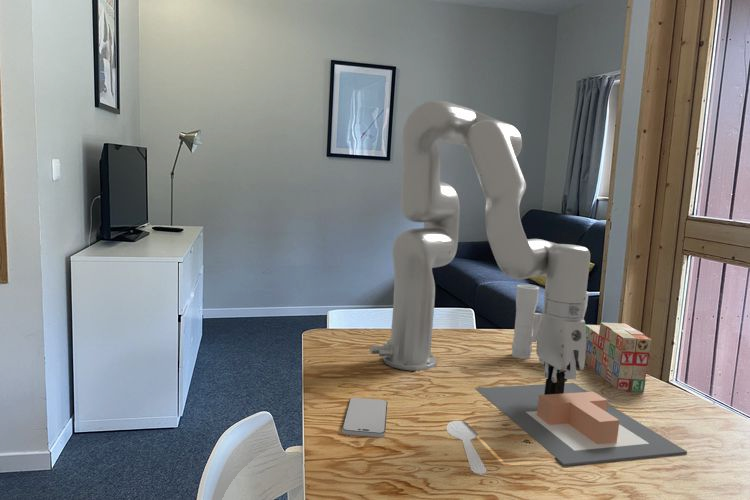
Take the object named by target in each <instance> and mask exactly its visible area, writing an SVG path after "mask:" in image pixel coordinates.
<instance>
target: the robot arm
mask: <svg viewBox="0 0 750 500" xmlns="http://www.w3.org/2000/svg"><path fill="white" fill-rule="evenodd" d="M521 135H522V134H521V133H520V132H519V130H518V129H517V128H516V127H515V126H514V125H512V124H510V123H509V122H508V123H507V122H504V121H501V120H499V119H497V118H494V117H492V116H489V115H487V114H485V113H482V112H480V111H477V110H475V109H472V108H469V107H466V106H463V105H459V104H456V103H454V102H449V101H446V100H440V99H439V100H438V99H437V100H436V99H434V100H428V101H424V102H422V103H420V104H418V105H417V106H416V107H415V108H414V109H413V110H412V111H411V112H410V114H409V115H408V116H407V118H406V120H405V122H404V126H403V131H402V169H401V171H402V173H401V174H402V175H401V192H400V194H401V195H400V208H401V213H402V215H403V217H404V218H405V219H406V220H408V221H410V222H413V223H423V227H420V228H410V229H407V230H405V231H403V232H401V233H400V234H399V235H397V237H396V238H395V240H394V241H393V242H394V243H393V246H392V262H393V272H394V278H393V279H394V281H393V282H394V286H393V305H392V319H391V334H390V339H388V340H386V343H383V344H382V345H377V344H376V345H370V347H369V351H370V354H371V355H375V354H376V355H378V357H382V361H383V363H384V364H385V365H387V366H389V367H391V368H393V369H399V370H405V371H410V372H411V371H424V370H425V371H426V370H430V369H432V368H435V367H436V365H437V358H436V356H434V355H433V354H431V352H432V340H433V339H432V337H433V326H434V313H435V300H436V283H435V279H434V274H433V269H434V268H440V267H444V266H446V265H448V264H450V263H451V262H453V260H454V258H455V256H456V254H457V252H458V251H457V250H458V245H459V244H458V243H459V229H460V209H461V206H460V199H459V196H458V193H457V191H456V190H455V188H454V187H453V186H452V185H451V184H448V183H446V182H443V181H441V157H440V153H439V150H438V146H437V144H438V143H439V142H443V143H449V144H452V145H453V144H454V145H459V146H460V147H463V148H465V149H467V151H468V153H469V157H470V159H471V163H472V165H473V167H474V170H475V172H476V176H477V178H478V179H477V180H478V181H479V185H480V187H481V190H482V192H483V195H484V198H485V210H484V214H485V215H484V216H485V217H484V218H485V219H484V220H485V221H484V222H485V225H484V226H485V232H486V237H487V241H488V243H489V246H490V249H491V252H492V254H493V256H494V259H495V261H496V264H497V266H498V267H499V269H500V271H501V272H502V273H503V274H504V275H505V276H507V277H508V278H509V279H512V280H517V281H519V280H526V279H530V278H535V277H541V276H545V277H546V278H545V285H544V286H545V287H544V294H543V295H544V297H543V305H542V313H541V314H542V317H541V321H539V322H540V325H539V331H538V337H537V341H536V356H537V357H538V358H539V359H538V360H539V362H540V363H541V365H542V366H543V367H544V377H545V393H544V395H548V394H564V385H565V383H568V380H569V381H570V380H577V371H578V372H580V371H584V370H585V369H584V368H585V364H586V362H585V354H586V326H585V325H586V321H585V319H584V320H583V317H584V318H585V316H584V308H585V299H586V291H587V289H588V280H589V272H590V263H591V252H590V250H589V249H588V248H587V247H586V246H581V245H577V244H568V243H567V244H566V243H556V242H552V241H548V240H546V239H545V240H544V239H540V238H529V239H528V238H527V234H526V233H525V231H524V227H523V225H522V219H521V216H520V206H521V205H520V204H521V201H522V198H523V196H524V194H525V193H526V189H527V182H526V179H525V178H524V175H523V173H522V169H521V167H520V165H519V162H518V160H517V157H518V156H519V155H520V153H521V151H522V148H523V139H522V136H521Z"/></svg>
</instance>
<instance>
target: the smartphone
mask: <svg viewBox="0 0 750 500" xmlns="http://www.w3.org/2000/svg"><path fill="white" fill-rule="evenodd" d="M387 412H388V401H387V400H383V399H377V398H376V399H374V398H365V397H364V398H363V397H362V398H361V397H351V398H350V399H349V401H348V404H347V409H346V412H345V416H344V419H343V423H342V430H341V432H342V434H345V435H346V436H347V435H348V436H357V437H358V436H361V437H369V438H370V437H371V438H372V437H374V438H384V437H385V436H386V428H387Z"/></svg>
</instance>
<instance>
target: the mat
mask: <svg viewBox="0 0 750 500" xmlns="http://www.w3.org/2000/svg"><path fill="white" fill-rule="evenodd" d="M545 384H546V383H545ZM545 384H526V385H525V384H524V385H510V386H509V385H506V386H503V385H502V386H488V387H474V389H475V391H477V392H479V393H480V394H481V395H482V396H483V397H484V398H485V399H487V400H488V401H489V402H490V403H492V404H493V405H494V406H495V407H496V408H497V409H498V410H500V411H501V412H502V413H503V414H504V415H505V416H506V417H508V418H509V419H510V420H511V421H513V423H514V424H516V425H517V426H518V427H520V428H521V429H522V430H523V432H525V433H527V434H528V435H529V436H530V437H531V438H532V439H533V440H535V441H536V442H537V443H538V444H539V445H541V446H542V447H543V448H544V449H546V450H547V452H549V454H551V456H553V457H554V460H555V461H557V462H558V463H559V464H560V465H561V466H562V467H571V466H579V465H580V466H581V465H589V464H591V465H592V464H599V463H601V464H602V463H608V462H620V461H628V460H629V461H630V460H636V459H638V460H639V459H647V458H657V457H658V458H659V457H668V456H677V455H686V454H687V453H688V451H687V450H685V449H684V448H682V447H681V446H679V445H677V444H675V443H674V442H672V441H670V439H667V438H666V437H664V436H662V435H661V434H659V433H657V432H655V431H654V430H652V429H650V428H649V427H648V426H646V425H644V424H642V423H641V422H639V421H637V420H636V419H634V418H633V417H631V416H629V415H627V414H626V413H624V412H623V411H621V410H619V409H617V408H616V407H614V406H612V405H611V404H609V403H608V402H607V407H606V412H607V413H609V414H610V415H612V416H614V417H615V418H617V419H618V420H620V421H619V429H618V437H617V442H616V443H606V444H596V443H595V442H593V441H592V440H590V439H589V438H588V437H586V436H585V435H584V434H582V433H581V432H579V431H578V430H577V429H575V428H574V427H572V426H571V425H570V424H568V423H567V424H554V425H549V424H547V423H546V422H545V421H543V420H542V419H541V418H539V417H538V416H537V408H538V399H539V395H544V393H545ZM580 392H589V391H587V390H586V389H584V388H583V387H581V386H579V385H577V384H576V383H574V382H565V385H564V393H580Z"/></svg>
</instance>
